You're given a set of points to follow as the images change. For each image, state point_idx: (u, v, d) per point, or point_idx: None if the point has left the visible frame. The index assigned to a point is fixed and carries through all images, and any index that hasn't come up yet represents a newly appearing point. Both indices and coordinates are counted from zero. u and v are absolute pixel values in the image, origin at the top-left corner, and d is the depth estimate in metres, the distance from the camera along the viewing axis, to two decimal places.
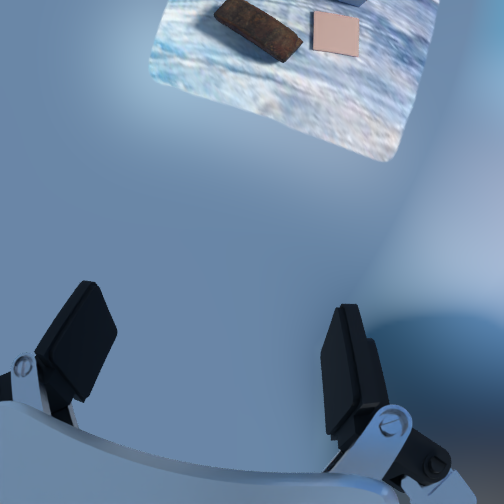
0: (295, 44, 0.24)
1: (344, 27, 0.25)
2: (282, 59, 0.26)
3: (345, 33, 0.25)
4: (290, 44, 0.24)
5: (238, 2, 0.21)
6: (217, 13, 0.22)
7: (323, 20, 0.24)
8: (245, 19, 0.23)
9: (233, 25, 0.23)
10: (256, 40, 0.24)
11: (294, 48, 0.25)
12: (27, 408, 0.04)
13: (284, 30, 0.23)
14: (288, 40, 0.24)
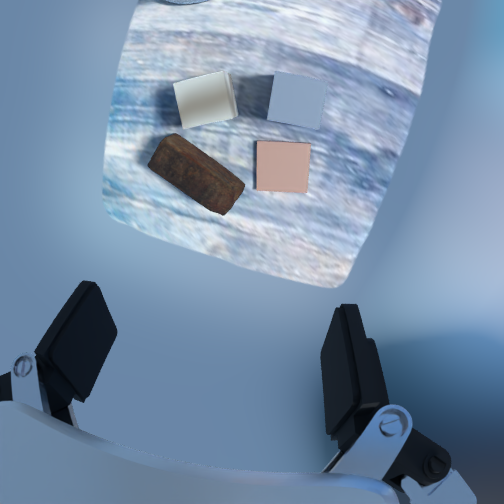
0: (232, 200, 0.30)
1: (292, 158, 0.30)
2: (221, 214, 0.31)
3: (292, 167, 0.30)
4: (227, 201, 0.29)
5: (169, 151, 0.27)
6: (150, 165, 0.28)
7: (267, 153, 0.30)
8: (178, 174, 0.28)
9: (167, 180, 0.28)
10: (192, 198, 0.29)
11: (232, 204, 0.30)
12: (27, 408, 0.04)
13: (219, 186, 0.28)
14: (224, 197, 0.29)
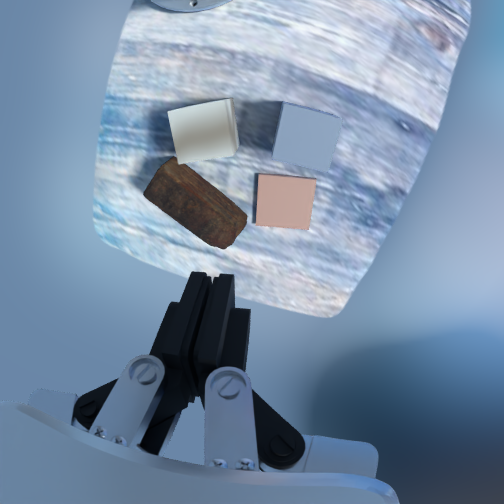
0: (234, 236, 0.28)
1: (295, 194, 0.29)
2: (221, 248, 0.30)
3: (295, 203, 0.29)
4: (228, 237, 0.28)
5: (167, 182, 0.25)
6: (146, 195, 0.26)
7: (269, 187, 0.28)
8: (176, 206, 0.26)
9: (165, 211, 0.27)
10: (191, 231, 0.28)
11: (233, 240, 0.28)
12: (27, 408, 0.04)
13: (221, 222, 0.27)
14: (226, 233, 0.28)
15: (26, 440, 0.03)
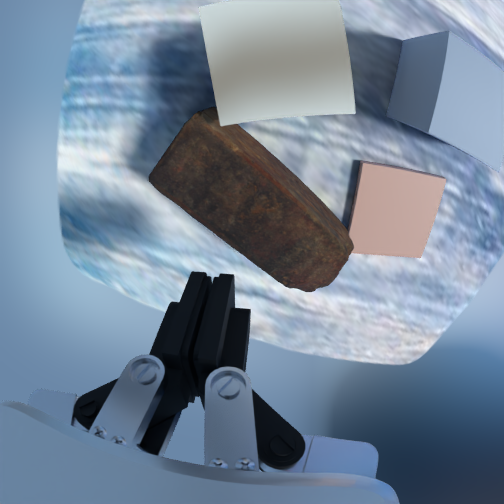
0: None
1: (415, 201, 0.15)
2: (303, 290, 0.15)
3: (412, 216, 0.15)
4: (328, 274, 0.14)
5: (209, 150, 0.10)
6: (155, 180, 0.11)
7: (378, 188, 0.15)
8: (227, 208, 0.12)
9: (197, 219, 0.12)
10: (252, 261, 0.14)
11: None
12: (27, 408, 0.04)
13: (322, 244, 0.13)
14: (326, 267, 0.13)
15: (26, 440, 0.03)
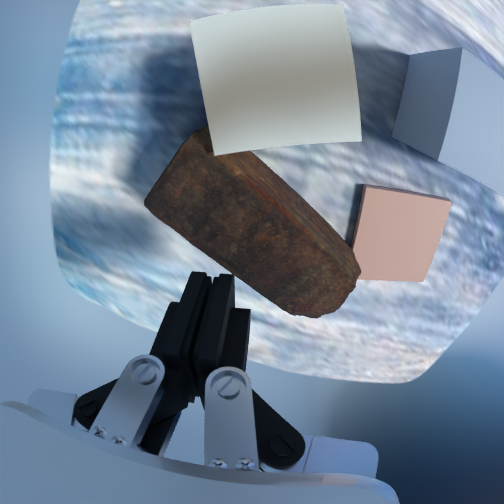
0: None
1: (419, 225, 0.14)
2: (308, 316, 0.15)
3: (415, 241, 0.15)
4: (334, 302, 0.13)
5: (209, 173, 0.10)
6: (151, 205, 0.11)
7: (381, 213, 0.14)
8: (229, 235, 0.11)
9: (197, 246, 0.12)
10: (255, 289, 0.13)
11: None
12: (27, 408, 0.04)
13: (330, 272, 0.12)
14: (332, 295, 0.13)
15: (26, 440, 0.03)
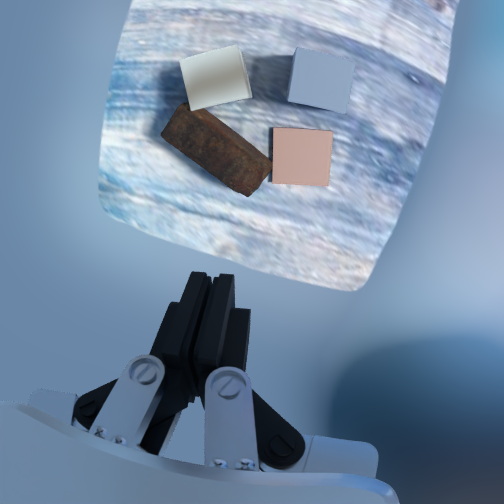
0: (261, 178, 0.25)
1: (312, 147, 0.26)
2: (245, 195, 0.27)
3: (313, 157, 0.27)
4: (254, 179, 0.25)
5: (188, 118, 0.22)
6: (164, 134, 0.23)
7: (285, 141, 0.26)
8: (197, 145, 0.23)
9: (184, 152, 0.24)
10: (212, 174, 0.25)
11: (259, 183, 0.25)
12: (27, 408, 0.04)
13: (247, 160, 0.24)
14: (251, 174, 0.24)
15: (26, 440, 0.03)
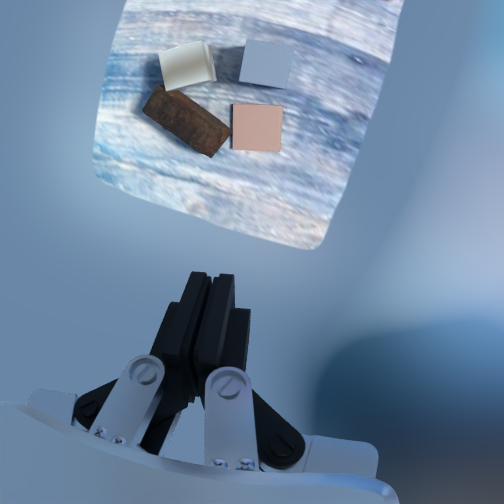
0: (219, 141, 0.30)
1: (265, 119, 0.31)
2: (208, 156, 0.31)
3: (266, 127, 0.31)
4: (214, 142, 0.29)
5: (163, 96, 0.26)
6: (144, 110, 0.27)
7: (242, 114, 0.31)
8: (170, 116, 0.28)
9: (160, 123, 0.28)
10: (182, 139, 0.29)
11: (219, 145, 0.30)
12: (27, 408, 0.04)
13: (208, 127, 0.28)
14: (212, 138, 0.29)
15: (26, 440, 0.03)
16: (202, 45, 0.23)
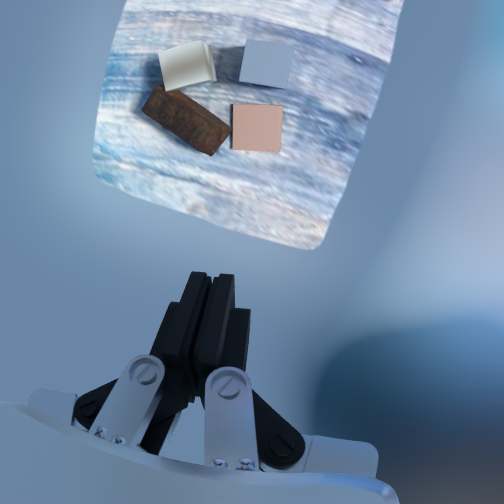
0: (219, 139, 0.29)
1: (265, 119, 0.31)
2: (209, 155, 0.31)
3: (266, 127, 0.31)
4: (214, 140, 0.29)
5: (162, 95, 0.26)
6: (144, 109, 0.27)
7: (242, 114, 0.31)
8: (169, 116, 0.28)
9: (159, 122, 0.28)
10: (181, 138, 0.29)
11: (219, 143, 0.30)
12: (27, 408, 0.04)
13: (207, 125, 0.28)
14: (212, 136, 0.29)
15: (26, 440, 0.03)
16: (202, 45, 0.23)
